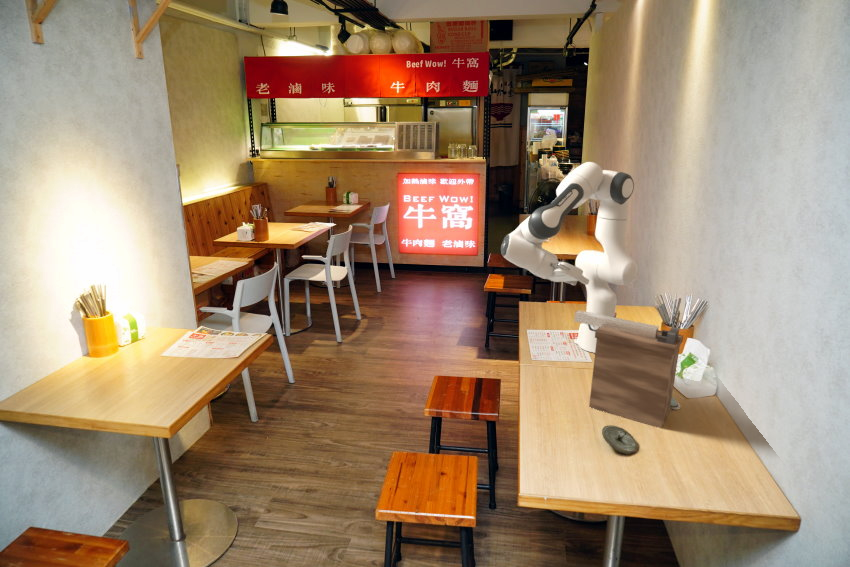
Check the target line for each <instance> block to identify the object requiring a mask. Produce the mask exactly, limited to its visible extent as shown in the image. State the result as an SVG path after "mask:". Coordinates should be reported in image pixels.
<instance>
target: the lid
mask: <svg viewBox="0 0 850 567" xmlns="http://www.w3.org/2000/svg"><path fill="white" fill-rule="evenodd" d="M601 435H602V438H603V440H604V441H605V443H607V444H608V445H609V447H611V448H613V449H614V450H616V451H617V452H618V453H621V454H624V455H631V454H635V453H636V452H638V450H639V449H638V442H637V440H636V439H635V437H634V436H633V435H632V434H631V433H630V432H629V431H627V430H626V429H625V428H622V427H619V426H616V425H611V424H610V425H605V426H603V427H602V429H601Z"/></svg>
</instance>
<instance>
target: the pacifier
mask: <svg viewBox="0 0 850 567" xmlns="http://www.w3.org/2000/svg"><path fill="white" fill-rule="evenodd" d="M671 409H672V410H680V409H681V404H680V403H679V402H678V401H676V399H675V398H674V397H673V396H672V399H671V406H670V410H671Z"/></svg>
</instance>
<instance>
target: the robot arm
mask: <svg viewBox="0 0 850 567" xmlns="http://www.w3.org/2000/svg"><path fill="white" fill-rule="evenodd" d="M633 179H634V178H633V177H632V176H631V175H630V174H629V173H626V172H622V171H614V170H608V169H602V167H601V166H600V165H599V164H598V163H596V162H593V161H586V162H584V163H582V164H580V165H579V166H576V167H575V168H574V169H573V170H572V171H571V172H569V173H568V174H567V175H566V176H565V177H564V178H563V180H561V181H560V183H559V185H558V186H557V188H556V189H555V194H556V197H555V198H554V200H552V201H551V202H550V203H549V204H547V205H543V206H540V207H538V208H536V209H535V210H534V211H533V212H532V214H530V215H529V216H528V217H527V218H526V219H524V220H523V221H522V222H521V223H520V224H519V225H518V226H517V227H516V228H515V230H513V231H511V232H510V233H508V234H506V235H505V236H504V238H503V240H502V243H501V246H500V253H501V255H502V257H503V258H504V259H505V260H507V261H508V262H510V263H512V264H514V265H515V266H517V267H519V268H521V269H522V268H523V269H525V270H527V271H529V272H530V273H531V274H533V275H534V276H535V277H539V278H541V279H544V280H549V281H551V282H553V283H554V282H555V283H562V282H564V283H566V284H570V285H571V286H576V285H577V283H578V282H580V283H581V284H583V285H585V289H586V310H585V312H590V313H595V314H600V315H605V316H610V317H615V318H617V315H618V314H617V312H616V309H617V302H618V300H617V295H616V293H615V292H614V291H613V289H611V287H610V286H609V284H613V285H617V286H620V285H621V286H629V285H631V284H632V283H634V282H635V280H636V279H637V278H638V277H637V276H638V271H639V268H638V265H637V263H636V262H635V260H634V259H633V258H632V256H631V255H630V253H629V250H628V247H627V242H626V237H627V234H626V232H627V224H628V217H629V216H628V215H629V199H630V197H632V195H633V192H634V189H635V188H634V187H635V182H634V180H633ZM589 199H591V200H594V201H595V200H596V201H599V204H598V210H597V216H596V223H595V232H594V236H595V240H597V242H599V243H600V245H601V246H602V248H603V251H599V250H595V249H585V250H582V251H580V252H579V253H578V255H576V258H575V262H574V263H575V265H573V264H570V263H569V262H565V261H560V260H558V256H557V255H556V254H555V253H552V252H550V251H548V250H546V249H545V248H543V247H542V246H543V243H544V242H546V241H547V240H549V239H550V238H552V237H554V236H556V235H557V234H558V233H559V232H560V230H561V228H562V225H563V222H564V218H566V216H567V215H568V214H569V213H570V212H571V211H572V210H573V209H577V208H579V207H581V206H582V205H583V204H585V202H587V201H588V200H589ZM599 328H600V327H598V326H593V325H589V324H584V323H580V325H579V329H578V336H577V338H575V339H573V343H574V344H576V345H577V346H578V347H579V348H580V349H582V350H583V351H586V352H590V353H594V354H595V350H596V341H597V338H595V332H596V331H597V330H598V329H599Z"/></svg>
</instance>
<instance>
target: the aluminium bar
mask: <svg viewBox="0 0 850 567" xmlns="http://www.w3.org/2000/svg"><path fill="white" fill-rule="evenodd" d="M573 321H574V322H575V323H580V324H582V323H584V324H589V325H593V326H598V327H603V328H608V329H612V330H617V331H622V332H626V333H631V334H636V335H641V336H645V337H650V338H656V337H657V335H658V330H659V327H660V326H658V325H653V324H648V323H644V322H640V321H635V320H634V321H633V320H628V319H626V318H625V319H624V318H619V317H616V318H615V317H610V316H605V315H600V314H595V313H590V312H586V310H579V309H578V310H577V311H574V320H573Z"/></svg>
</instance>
